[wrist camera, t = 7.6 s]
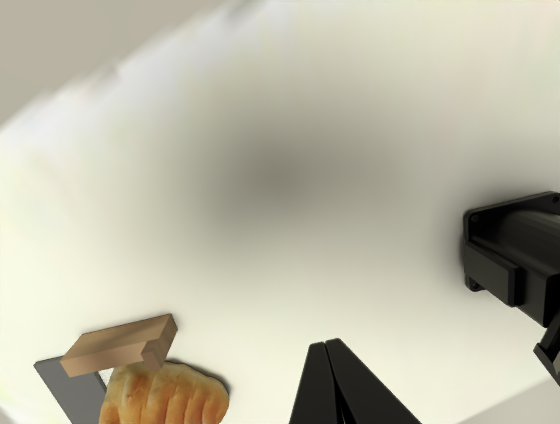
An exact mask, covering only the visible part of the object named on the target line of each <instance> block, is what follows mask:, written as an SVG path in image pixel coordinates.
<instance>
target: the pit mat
mask: <svg viewBox="0 0 560 424" xmlns="http://www.w3.org/2000/svg"><path fill="white" fill-rule="evenodd" d="M62 358H63V356H61V357H57V358H53V359H48V360H44V361H40V362H36V363H35V364H34V365H33V366H34V368H35V369H36V371H37V372H38V374H39V375H40V377H41V378H42V379H43V381H44V382H45V384H46V385H47V387H48V388H49V390H50V391H51V393H52V394H53V396H54V397H55V399H56V400H57V402H58V403H59V405H60V406H61V408H62V409H63V411H64V412H65V414H66V415H67V417H68V418H69V420H70V421H71V423H72V424H99V418H100V412H101V407H102V404H103V402H104V400H105V395H106V392H107V388H106V386H105V385H104V383H103V381H102V380H101V378H100V376H99V374H98V373H97V371H96V372H92V373H88V374H83V375H79V376H75V377H69V376H68V374H67V373H66V371H65V369H64V368H63V366H62V365H61V363H60V360H61V359H62Z"/></svg>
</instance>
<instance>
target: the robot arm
mask: <svg viewBox="0 0 560 424" xmlns="http://www.w3.org/2000/svg"><path fill="white" fill-rule="evenodd" d="M552 199H553V200H552ZM473 216H475V217H474V219H473V220H471V219H472V217H473ZM464 234H465V242H464V270H465V273H466V287H467V288H468V289H470V290H471V291H473V292H477V291H481V290H488V291H489V292H490V293H492V294H493V295H494V296H496V297H497V298H498V299H499V300H501V301H502V302H503V303H505V304H506V305H508V306H509V307H511V308H512V307H517V308H519V309H520V310H521V311H523V312H524V313H525V314H527V315H528V316H529V317H531V318H532V319H533V320H535V321H536V322H537V323H539V324H540V325H541V326H543V327H544V328H547V330H546V332H545V334H544V336H543V338H542V339H541V341H540V343H537V344H536V346H535V348H534V350H533V352H534V353H535V354H536V356H537V357H538V358H539V360H540V361H541V362H542V364H543V365H544V366H545V368H546V369H547V370H548V372H549V373H550V374H551V376H552V377H553V378H554V379H555V381H556V382H557V384H558V385H559V386H560V193H557V192H553V191H552V192H546V193H542V194H538V195H534V196H529V197H525V198H521V199H517V200H512V201H508V202H504V203H500V204H496V205H491V206H487V207H483V208H479V209H474V210H471V211H468V212H467V213H466V214H465V216H464ZM475 283H476V284H475ZM474 284H475V285H474ZM473 285H474V286H473ZM343 418H344V419H343ZM344 422H345V423H344ZM289 424H422V423H421V422H420V421H419V420H418V419H417V418H416V417H415V416H414V415H413V414H412V413H411V412H410V411H409V410H408V409H407V408H406V407H405V406H404V405H403V404H402V403H401V402H400V401H399V399H398V398H397V397H396V396H395V395H394V394H393V393H392V392H391V391H390V390H389V389H388V388H387V387H386V386H385V385H384V384H383V383H382V382H381V381H380V380H379V379H378V378H377V377H376V376H375V375H374V374H373V373H372V371H371V370H370V369H369V368H368V367H367V366H366V365H365V364H364V363H363V362H362V361H361V360H360V359H359V358H358V357H357V356H356V355H355V354H354V353H353V352H352V351H351V350H350V349H349V348H348V347H347V346H346V344H345V343H344V342H343V341H342V340H341V339H339V338H335V339H331V340H327V341H325V343H324V342H317V343H313V344H311V345H310V346H309V349H308V353H307V356H306V360H305V364H304V368H303V372H302V375H301V379H300V383H299V387H298V391H297V394H296V398H295V402H294V406H293V410H292V413H291V417H290V421H289Z"/></svg>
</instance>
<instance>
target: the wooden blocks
mask: <svg viewBox="0 0 560 424" xmlns="http://www.w3.org/2000/svg"><path fill="white" fill-rule="evenodd" d="M177 330H178V329H177V327H176V325H175V322H174V320H173V318H172V316H171V314H168V315H164V316H160V317H155V318H151V319H147V320H142V321H138V322H134V323H129V324H125V325H121V326H117V327H112V328H108V329H104V330H99V331H95V332H91V333H87V334H82V335H81V337H80V338H79V339H78V340H77V341H76V342H75V344H74V345H73V346H72V347H71V348H70V349H69V351H68V352H67V353H66V354H65V355H64V356H63V358H62V359H61V360H60V363H61V365H62V366H63V368H64V369H65V371H66V373H67V374H68V376H69V377H75V376H79V375H83V374H88V373H92V372H96V371H101V370H105V369H109V368H114V367H118V366H123V365H127V364H131V363H136V362H140V361H144V362H145V364H146V366H147V368H148V370H149V371H154V370H158V369H161V368H162V366H163V363H164V361H165V358H166V356H167V354H168V351H169V349H170V347H171V344H172V342H173V339H174V337H175V335H176V332H177Z"/></svg>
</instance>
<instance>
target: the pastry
mask: <svg viewBox="0 0 560 424" xmlns="http://www.w3.org/2000/svg"><path fill="white" fill-rule="evenodd" d="M228 407H229V396H228V393H227V391H226V389H225V388H224V386H223V384H222V383H221V382H220V381H218V380H217V379H215V378H213V377H208V376H205V375H203V374H202V373H200V372H198V371H196V370H194V369H192V368H191V367H189V366H187V365H185V364H174V363H171V362H164V363H163V366H162V368H161V369H158V370H154V371H149V370H148V368H147V366H146V364H145V362H144V361H140V362H136V363H131V364H127V365H123V366H118V367H115V368H114V370H113V372H112V374H111V377H110V380H109V383H108V386H107V392H106V395H105V400H104V402H103V404H102V407H101V412H100V418H99V424H219V423H220V422H221V421H222V419H223V417H224V416H225V414H226V411H227V409H228Z"/></svg>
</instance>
